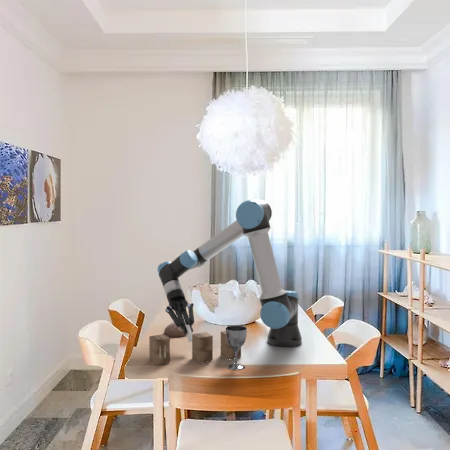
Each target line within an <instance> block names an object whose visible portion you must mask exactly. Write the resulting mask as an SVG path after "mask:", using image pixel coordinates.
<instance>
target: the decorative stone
mask: <svg viewBox="0 0 450 450" xmlns="http://www.w3.org/2000/svg"><path fill="white" fill-rule="evenodd" d="M185 326H186V324H185ZM163 333H164V335H166V336H167V337H169V338H183V337H187V335H186V334H184V332H183V329H181V327H179V328H178V327H177V326H176V325H175V323H174V322H172V323H169V324H168V325H167V326H166V327H165V328H164V331H163Z"/></svg>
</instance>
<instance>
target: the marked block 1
mask: <svg viewBox="0 0 450 450" xmlns="http://www.w3.org/2000/svg"><path fill="white" fill-rule="evenodd" d="M170 338H171V337H168V336H166V335H165V334H158V335H150V336H149V341H148V342H149V362H150V363H151V362H152V363H153V364H154V365H153V364H152V363H151V364H152V365H153V366H155V367H158V366H159V367H160V366H163V365H169V364H168V363H171V344H170V343H171V341H170Z"/></svg>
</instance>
